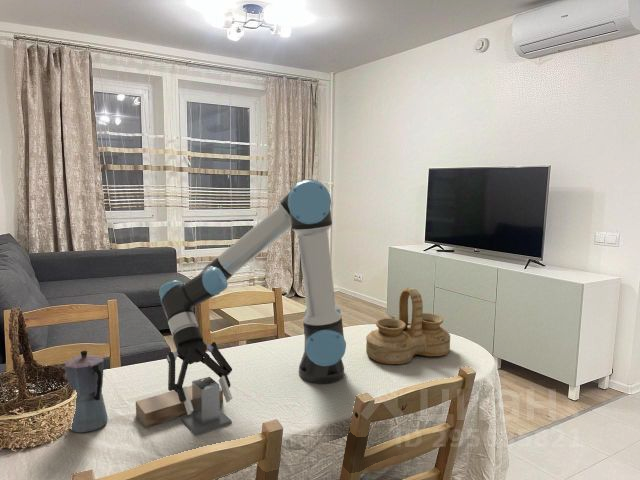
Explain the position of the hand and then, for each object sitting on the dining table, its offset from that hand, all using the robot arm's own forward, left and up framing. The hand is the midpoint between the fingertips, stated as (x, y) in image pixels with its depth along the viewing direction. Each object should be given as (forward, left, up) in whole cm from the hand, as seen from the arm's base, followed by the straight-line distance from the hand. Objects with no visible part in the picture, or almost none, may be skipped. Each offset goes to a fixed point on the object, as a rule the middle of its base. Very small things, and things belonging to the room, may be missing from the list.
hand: (210, 406), depth 122 cm
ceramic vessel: (-47, -66, -6) cm, 81 cm away
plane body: (+12, -5, -6) cm, 14 cm away
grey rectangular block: (+2, -2, -5) cm, 6 cm away
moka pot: (+30, +9, -6) cm, 32 cm away
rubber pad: (+2, -2, -6) cm, 6 cm away
